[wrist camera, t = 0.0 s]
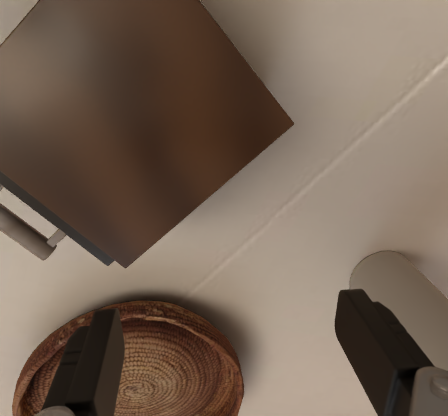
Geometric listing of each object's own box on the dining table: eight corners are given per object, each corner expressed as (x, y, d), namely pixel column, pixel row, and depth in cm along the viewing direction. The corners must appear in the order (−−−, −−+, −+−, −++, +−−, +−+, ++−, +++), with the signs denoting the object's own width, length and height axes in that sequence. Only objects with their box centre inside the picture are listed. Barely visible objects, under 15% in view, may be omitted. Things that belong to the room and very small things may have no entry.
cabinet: (140, 206, 31) (125, 269, 23) (14, 94, 27) (-66, 120, 18) (260, 99, 29) (295, 124, 20) (144, -47, 24) (123, -98, 15)
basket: (62, 441, 43) (48, 487, 38) (-7, 313, 34) (-36, 353, 30) (246, 405, 44) (254, 446, 39) (224, 271, 35) (230, 304, 31)
